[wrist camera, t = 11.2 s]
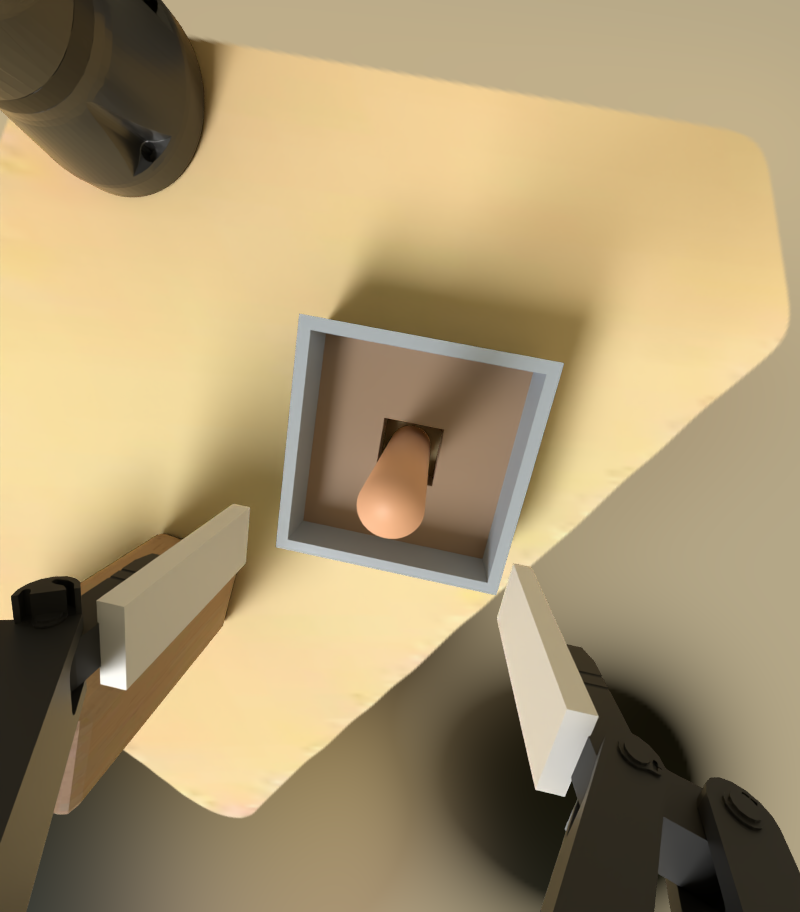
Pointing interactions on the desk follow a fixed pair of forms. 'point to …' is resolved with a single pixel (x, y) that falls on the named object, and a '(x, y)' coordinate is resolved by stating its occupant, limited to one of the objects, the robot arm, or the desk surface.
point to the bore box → (420, 402)
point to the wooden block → (131, 688)
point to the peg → (397, 486)
